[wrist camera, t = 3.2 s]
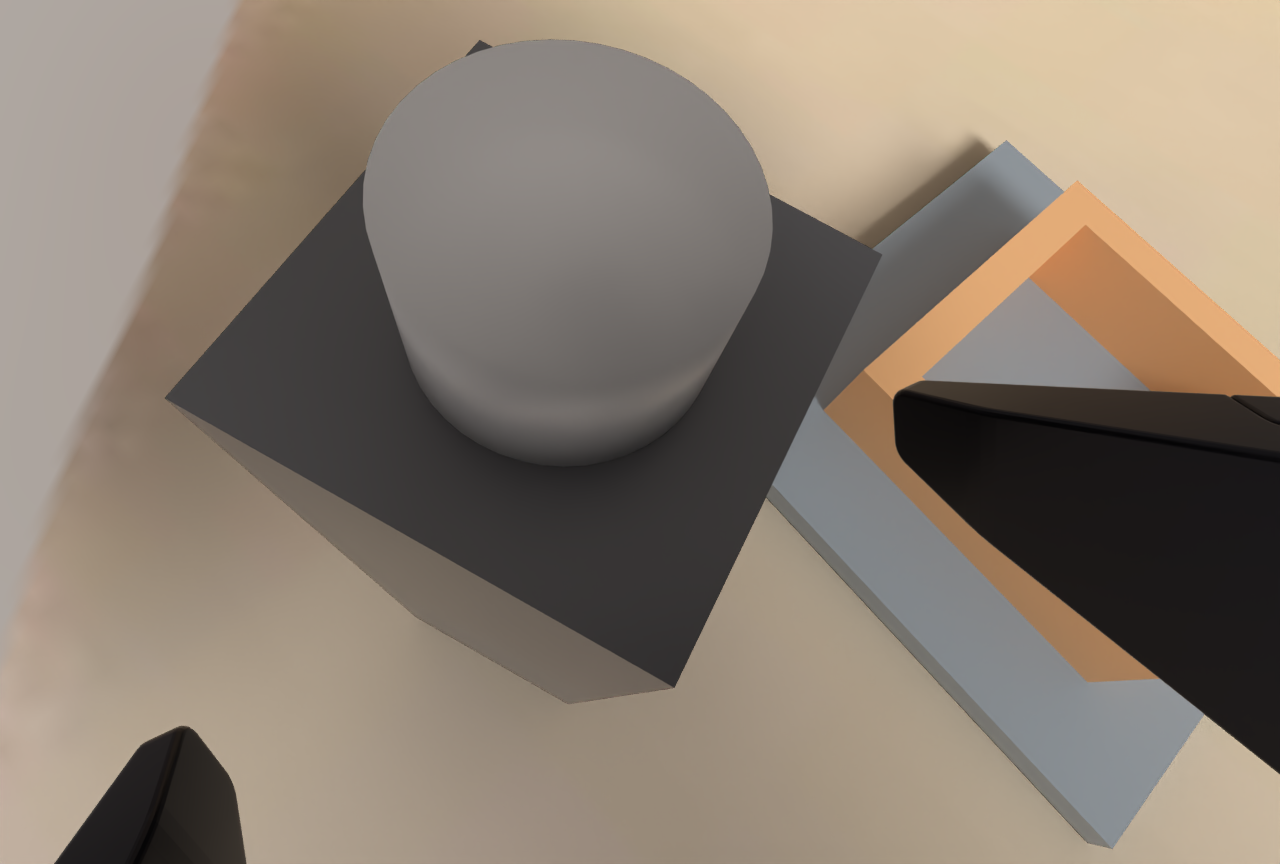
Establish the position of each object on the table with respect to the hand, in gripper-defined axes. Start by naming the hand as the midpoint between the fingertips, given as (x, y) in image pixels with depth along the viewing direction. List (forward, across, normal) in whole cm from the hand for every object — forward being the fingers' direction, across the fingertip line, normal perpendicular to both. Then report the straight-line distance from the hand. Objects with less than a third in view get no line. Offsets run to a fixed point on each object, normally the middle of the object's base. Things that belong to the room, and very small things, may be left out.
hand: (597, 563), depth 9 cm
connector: (+8, 0, +6) cm, 9 cm away
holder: (+6, -14, +7) cm, 17 cm away
